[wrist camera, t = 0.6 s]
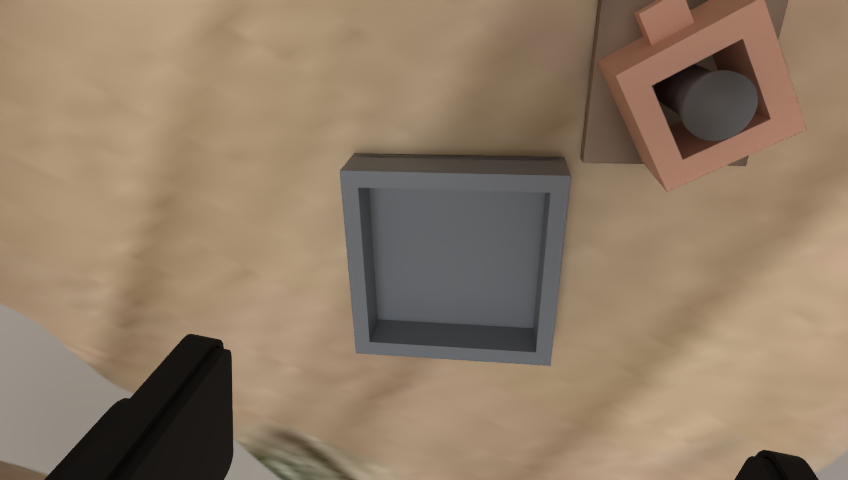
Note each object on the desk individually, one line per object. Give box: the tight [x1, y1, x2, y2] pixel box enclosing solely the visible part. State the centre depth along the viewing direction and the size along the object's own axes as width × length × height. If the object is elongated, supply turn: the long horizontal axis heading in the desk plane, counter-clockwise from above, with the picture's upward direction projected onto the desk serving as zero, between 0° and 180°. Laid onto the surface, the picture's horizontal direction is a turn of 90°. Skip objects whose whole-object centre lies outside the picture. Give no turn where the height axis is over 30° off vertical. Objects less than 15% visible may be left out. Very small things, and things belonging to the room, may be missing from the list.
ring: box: [597, 0, 807, 192], centre depth 26 cm, size 6×8×5 cm
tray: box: [340, 153, 571, 366], centre depth 34 cm, size 13×13×4 cm
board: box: [581, 0, 788, 166], centre depth 26 cm, size 9×9×7 cm
